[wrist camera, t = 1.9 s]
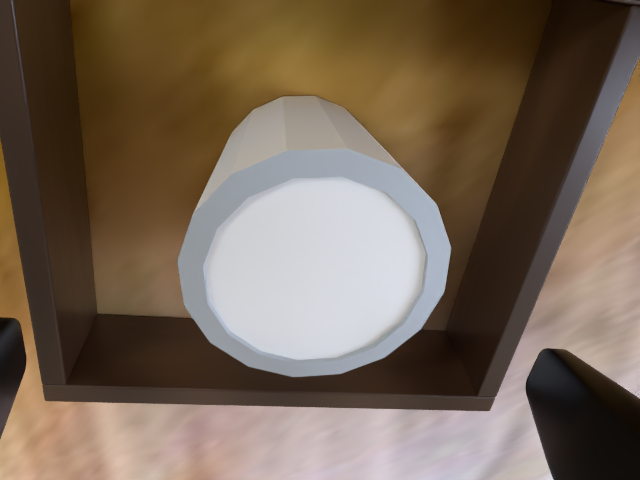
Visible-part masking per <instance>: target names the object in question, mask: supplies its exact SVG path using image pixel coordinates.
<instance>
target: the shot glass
mask: <svg viewBox="0 0 640 480" xmlns="http://www.w3.org/2000/svg"><path fill="white" fill-rule="evenodd" d="M450 253H451V246H450V243H449V240H448V237H447V234H446V231H445V228H444V224H443V221H442V218H441V215H440V212H439V209H438V206H437V204H436V203H435V202H434V201H433V200H432V199H431V198H430V196H429V195H428V194H427V193H426V192H425V191H424V190H423V189H422V188H421V187H420V186H419V185H418V184H417V183H416V182H415V181H414V180H413V179H412V177H411V176H410V175H409V174H408V173H407V172H406V171H405V170H404V169H403V168H402V167H401V166H400V165H399V164H398V163H397V162H396V161H395V160H394V158H393V157H392V156H391V155H390V154H389V153H388V152H387V151H386V150H385V149H384V148H383V147H382V146H381V145H380V144H379V143H378V142H377V140H376V139H375V138H374V137H373V136H372V135H371V134H370V133H369V132H368V131H367V130H366V129H365V128H364V127H363V126H362V125H361V124H360V123H359V122H358V121H357V120H356V119H355V118H354V117H353V116H352V115H351V114H350V113H349V112H348V111H347V110H346V109H345V108H344V107H342V106H340V105H337V104H335V103H332V102H329V101H327V100H324V99H322V98H319V97H317V96H282V97H280V98H278V99H275V100H273V101H271V102H269V103H266V104H264V105H262V106H260V107H257V108H255V109H253V110H252V111H251V112H250V113H249V114H248V115H247V116H246V118H245V119H244V120H243V121H242V122H241V123H240V124H239V125H238V126H237V127H236V128H235V129H234V130H233V132H232V133H231V135H230V137H229V139H228V141H227V143H226V146H225V148H224V150H223V152H222V154H221V156H220V158H219V160H218V162H217V164H216V167H215V169H214V171H213V173H212V175H211V177H210V179H209V181H208V183H207V185H206V188H205V190H204V192H203V194H202V196H201V198H200V200H199V202H198V204H197V206H196V209H195V211H194V213H193V215H192V218H191V221H190V224H189V227H188V230H187V233H186V236H185V239H184V242H183V245H182V248H181V251H180V254H179V257H178V260H177V263H178V270H179V276H180V282H181V288H182V295H183V301H184V306H185V308H186V309H187V311H188V312H189V313H190V315H191V316H192V318H193V319H194V321H195V322H196V323H197V325H198V326H199V328H200V329H201V330H202V332H203V333H204V335H205V336H206V337H207V339H208V340H209V342H210V343H212V344H213V345H215V346H216V347H218V348H220V349H221V350H223V351H224V352H226V353H228V354H229V355H231V356H232V357H234V358H235V359H237V360H239V361H240V362H242V363H243V364H245V365H247V366H248V367H252V368H256V369H261V370H265V371H269V372H274V373H278V374H282V375H286V376H291V377H303V376H318V375H333V374H342V373H345V372H347V371H350V370H353V369H355V368H358V367H361V366H363V365H366V364H369V363H371V362H374V361H377V360H379V359H382V358H385V357H386V356H387V355H389V354H390V353H391V352H392V351H394V350H395V349H396V348H398V347H399V346H400V345H401V344H403V343H404V342H405V341H407V340H408V339H409V338H410V337H412V336H413V335H414V334H416V333H417V332H418V331H419V330H421V328H422V327H423V325H424V324H425V322H426V320H427V319H428V317H429V316H430V314H431V312H432V311H433V309H434V308H435V306H436V304H437V303H438V301H439V300H440V298H441V297H442V295H443V293H444V292H445V286H446V279H447V272H448V266H449V259H450Z"/></svg>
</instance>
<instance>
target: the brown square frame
mask: <svg viewBox="0 0 640 480" xmlns="http://www.w3.org/2000/svg"><path fill="white" fill-rule="evenodd" d="M639 57H640V0H555V1H554V4H553V7H552V10H551V13H550V16H549V19H548V22H547V25H546V28H545V31H544V34H543V37H542V40H541V43H540V46H539V49H538V52H537V55H536V58H535V62H534V65H533V68H532V71H531V74H530V77H529V80H528V83H527V86H526V89H525V92H524V95H523V98H522V101H521V104H520V107H519V110H518V113H517V116H516V119H515V122H514V125H513V128H512V131H511V135H510V138H509V141H508V144H507V147H506V150H505V153H504V156H503V159H502V162H501V165H500V168H499V171H498V174H497V177H496V180H495V183H494V186H493V189H492V192H491V195H490V198H489V201H488V204H487V207H486V211H485V214H484V217H483V220H482V223H481V226H480V229H479V232H478V235H477V238H476V241H475V244H474V247H473V250H472V253H471V256H470V259H469V262H468V265H467V268H466V271H465V274H464V277H463V280H462V284H461V287H460V290H459V293H458V296H457V299H456V302H455V305H454V308H453V311H452V314H451V317H450V320H449V323H448V326H447V329H446V331H437V330H419V331H418V332H417V333H416V334H414V335H413V336H412V337H410V338H409V339H408V340H407V341H405V342H404V343H403V344H401V345H400V346H399V347H398V348H396V349H395V350H394V351H392V352H391V353H390V354H389V355H387V356H386V357H385V358H382V359H379V360H377V361H374V362H371V363H369V364H366V365H363V366H361V367H358V368H355V369H353V370H350V371H347V372H345V373H342V374H333V375H318V376H303V377H291V376H286V375H282V374H278V373H274V372H269V371H265V370H261V369H256V368H252V367H248V366H247V365H245V364H243V363H242V362H240V361H239V360H237V359H235V358H234V357H232V356H231V355H229V354H228V353H226V352H224V351H223V350H221V349H220V348H218V347H216V346H215V345H213V344H212V343H210V342H209V340H208V339H207V337H206V336H205V335H204V333H203V332H202V330H201V329H200V328H199V326H198V325H197V323H196V322H195V321H194V319H183V318H162V317H141V316H119V315H98V314H97V304H96V293H95V282H94V270H93V259H92V248H91V237H90V226H89V215H88V203H87V192H86V181H85V170H84V159H83V148H82V137H81V125H80V114H79V103H78V92H77V81H76V70H75V58H74V47H73V36H72V25H71V14H70V3H69V0H0V138H1V144H2V150H3V155H4V161H5V167H6V173H7V179H8V185H9V191H10V197H11V203H12V209H13V215H14V221H15V227H16V232H17V238H18V244H19V250H20V256H21V262H22V268H23V274H24V280H25V286H26V292H27V298H28V303H29V309H30V315H31V321H32V327H33V333H34V339H35V345H36V351H37V357H38V363H39V369H40V374H41V380H42V384H43V392H44V398H45V401H64V402H108V403H152V404H197V405H241V406H285V407H329V408H373V409H417V410H461V411H490V409H491V407H492V404H493V402H494V400H495V397H496V396H497V393H498V391H499V388H500V386H501V384H502V381H503V379H504V377H505V374H506V372H507V370H508V367H509V365H510V362H511V360H512V358H513V355H514V353H515V351H516V348H517V346H518V343H519V341H520V339H521V336H522V334H523V332H524V329H525V327H526V325H527V322H528V320H529V317H530V315H531V313H532V310H533V308H534V306H535V303H536V301H537V299H538V296H539V294H540V291H541V289H542V287H543V284H544V282H545V280H546V277H547V275H548V273H549V270H550V268H551V265H552V263H553V261H554V258H555V256H556V254H557V251H558V249H559V247H560V244H561V242H562V239H563V237H564V235H565V232H566V230H567V228H568V225H569V223H570V221H571V218H572V216H573V213H574V211H575V209H576V206H577V204H578V202H579V199H580V197H581V195H582V192H583V190H584V187H585V185H586V183H587V180H588V178H589V176H590V173H591V171H592V168H593V166H594V164H595V161H596V159H597V157H598V154H599V152H600V150H601V147H602V145H603V142H604V140H605V138H606V135H607V133H608V131H609V128H610V126H611V124H612V121H613V119H614V116H615V114H616V112H617V109H618V107H619V105H620V102H621V100H622V98H623V95H624V93H625V90H626V88H627V86H628V83H629V81H630V79H631V76H632V74H633V72H634V69H635V67H636V64H637V62H638V60H639Z"/></svg>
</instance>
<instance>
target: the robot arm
mask: <svg viewBox="0 0 640 480" xmlns="http://www.w3.org/2000/svg"><path fill="white" fill-rule="evenodd" d="M25 368H26V353H25V347H24V341H23V335H22V329H21V325H20V323H19V321H18V320H17V319H15V318H3V317H0V439H1V436H2V433H3V430H4V428H5V425H6V422H7V419H8V416H9V414H10V411H11V408H12V405H13V403H14V400H15V397H16V394H17V391H18V389H19V386H20V383H21V380H22V378H23V375H24V372H25ZM526 394H527V398H528V401H529V404H530V407H531V411H532V414H533V417H534V421H535V424H536V427H537V430H538V434H539V437H540V440H541V443H542V447H543V450H544V453H545V457H546V460H547V463H548V466H549V469H550V471H551V474H552V477H553V479H554V480H640V399H639V398H638V397H636V396H635V395H633V394H632V393H630V392H629V391H627V390H626V389H624V388H623V387H621V386H620V385H618V384H617V383H615V382H614V381H612V380H611V379H609V378H608V377H606V376H605V375H603V374H602V373H600V372H599V371H597V370H596V369H594V368H593V367H591V366H590V365H588V364H587V363H585V362H584V361H582V360H581V359H579V358H578V357H576V356H575V355H573V354H572V353H570V352H569V351H567V350H564V349H549V348H547V349H543V350H542V351H541V352H540V353H539V355H538V357H537V359H536V361H535V363H534V365H533V367H532V370H531V372H530V374H529V376H528V378H527V381H526Z"/></svg>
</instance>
